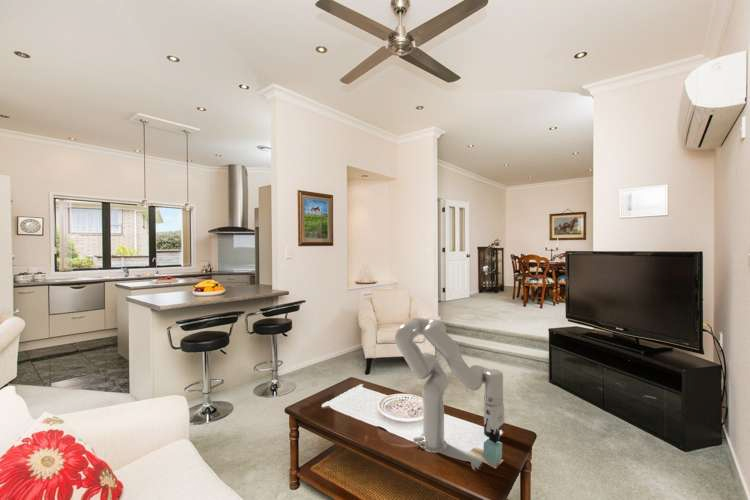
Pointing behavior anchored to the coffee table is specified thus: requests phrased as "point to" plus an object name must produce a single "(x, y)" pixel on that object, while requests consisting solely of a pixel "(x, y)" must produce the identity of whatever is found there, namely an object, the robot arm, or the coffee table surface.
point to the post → (492, 462)
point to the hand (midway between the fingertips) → (493, 440)
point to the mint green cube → (492, 451)
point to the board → (481, 456)
